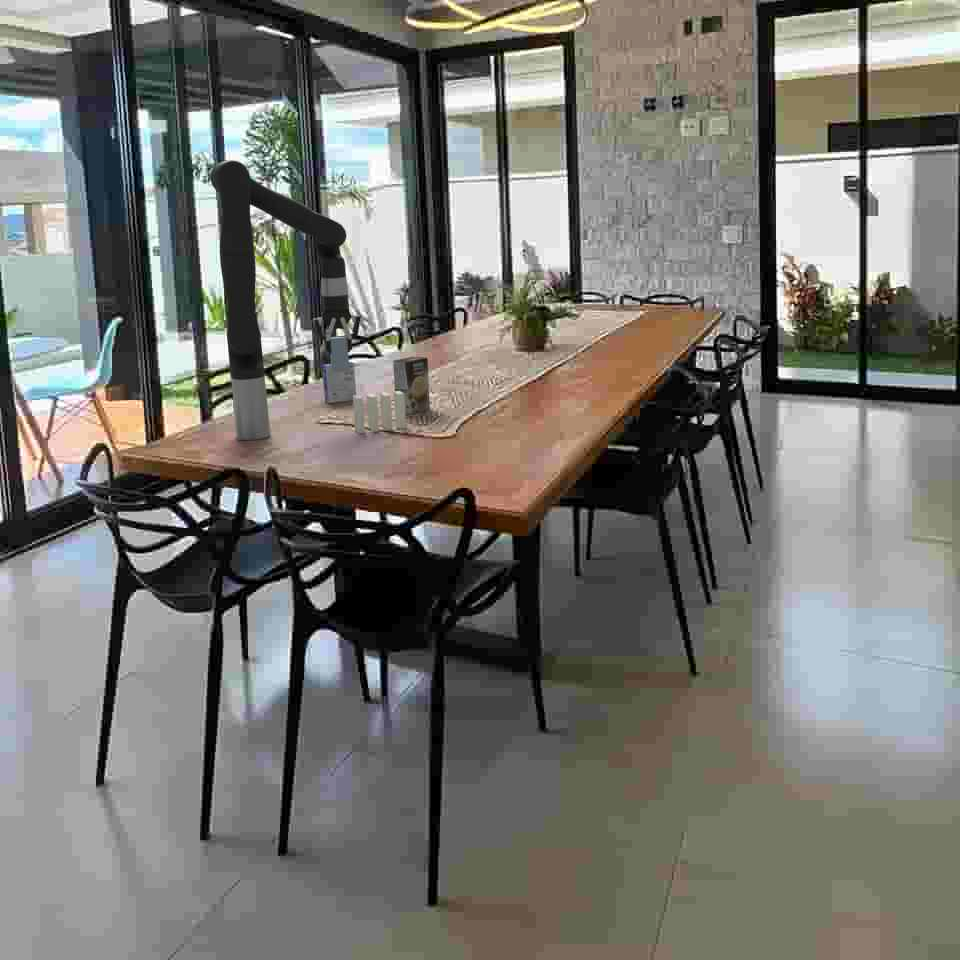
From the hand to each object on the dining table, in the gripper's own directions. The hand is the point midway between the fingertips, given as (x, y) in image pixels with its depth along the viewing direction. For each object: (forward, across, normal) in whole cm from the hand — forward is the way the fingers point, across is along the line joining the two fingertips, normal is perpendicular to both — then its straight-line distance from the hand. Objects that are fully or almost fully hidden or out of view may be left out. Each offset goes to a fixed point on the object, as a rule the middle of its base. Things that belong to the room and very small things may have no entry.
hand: (339, 352), depth 317 cm
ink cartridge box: (+21, +6, +36) cm, 42 cm away
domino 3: (+21, +10, -12) cm, 26 cm away
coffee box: (+21, +23, +8) cm, 32 cm away
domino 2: (+21, +6, -12) cm, 25 cm away
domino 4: (+21, +14, -12) cm, 28 cm away
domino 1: (+21, +2, -12) cm, 24 cm away
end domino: (+6, 0, 0) cm, 6 cm away
